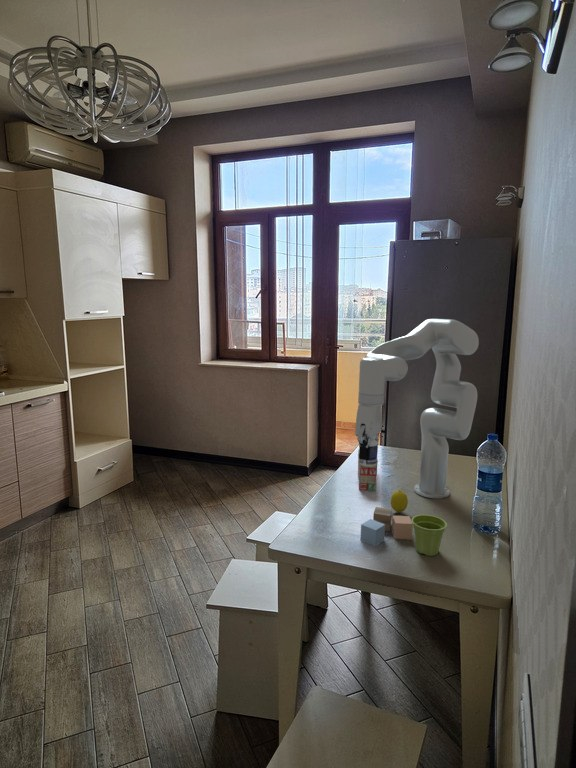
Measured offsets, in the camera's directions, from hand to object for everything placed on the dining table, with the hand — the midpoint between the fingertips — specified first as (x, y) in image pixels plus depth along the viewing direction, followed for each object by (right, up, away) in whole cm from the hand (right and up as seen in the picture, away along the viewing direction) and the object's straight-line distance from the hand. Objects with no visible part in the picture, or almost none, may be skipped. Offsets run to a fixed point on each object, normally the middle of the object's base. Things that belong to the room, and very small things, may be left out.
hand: (368, 456), depth 144 cm
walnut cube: (+5, -22, +3) cm, 23 cm away
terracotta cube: (+10, -23, -3) cm, 25 cm away
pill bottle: (0, -3, 0) cm, 3 cm away
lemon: (+12, -21, +12) cm, 27 cm away
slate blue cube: (0, -24, -6) cm, 25 cm away
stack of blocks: (+6, -16, +41) cm, 44 cm away
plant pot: (+15, -25, -11) cm, 31 cm away
